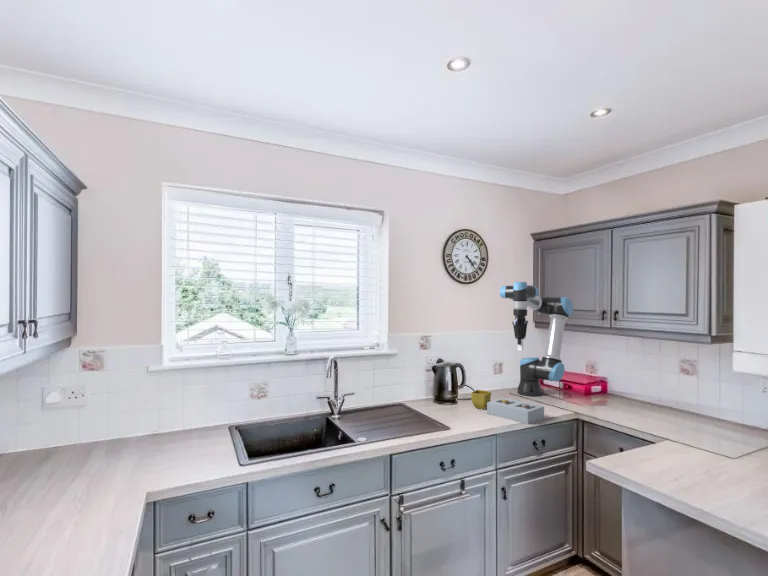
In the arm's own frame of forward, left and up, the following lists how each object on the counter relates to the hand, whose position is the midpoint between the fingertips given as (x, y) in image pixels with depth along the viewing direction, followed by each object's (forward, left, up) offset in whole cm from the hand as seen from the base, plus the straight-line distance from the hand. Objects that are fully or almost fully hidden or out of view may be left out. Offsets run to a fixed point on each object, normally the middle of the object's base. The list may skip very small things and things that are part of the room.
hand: (520, 350), depth 240 cm
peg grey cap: (+17, +13, -32) cm, 39 cm away
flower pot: (+18, -14, -33) cm, 40 cm away
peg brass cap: (+17, +1, -32) cm, 36 cm away
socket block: (+17, +7, -32) cm, 37 cm away
